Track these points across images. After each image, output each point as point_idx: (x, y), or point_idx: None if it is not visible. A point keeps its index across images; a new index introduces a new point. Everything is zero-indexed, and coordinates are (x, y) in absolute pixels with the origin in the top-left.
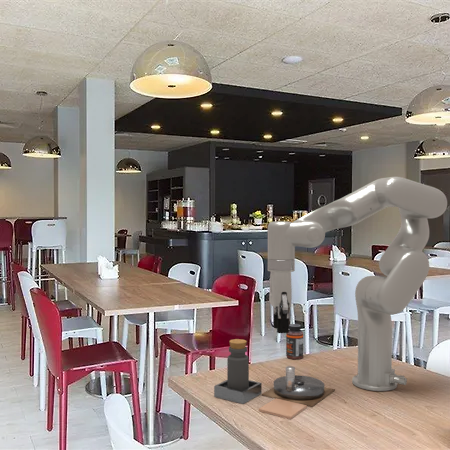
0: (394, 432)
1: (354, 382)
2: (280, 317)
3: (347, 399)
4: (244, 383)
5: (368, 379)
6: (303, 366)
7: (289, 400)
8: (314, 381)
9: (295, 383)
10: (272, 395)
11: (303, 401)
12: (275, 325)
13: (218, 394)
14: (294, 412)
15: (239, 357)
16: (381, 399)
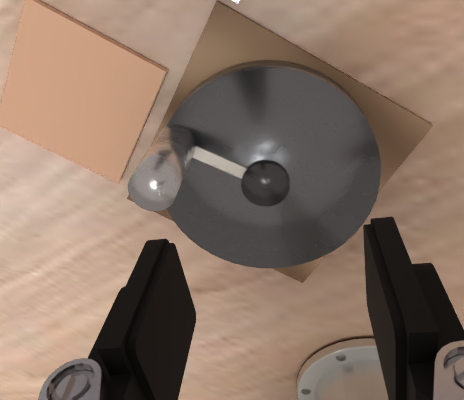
0: (24, 348)
1: (354, 345)
2: (53, 395)
3: (222, 299)
4: None
5: (325, 389)
6: None
7: (161, 125)
8: (294, 240)
9: (247, 169)
10: (205, 54)
11: None
12: (366, 246)
13: None
14: (39, 139)
15: None
16: (235, 371)
